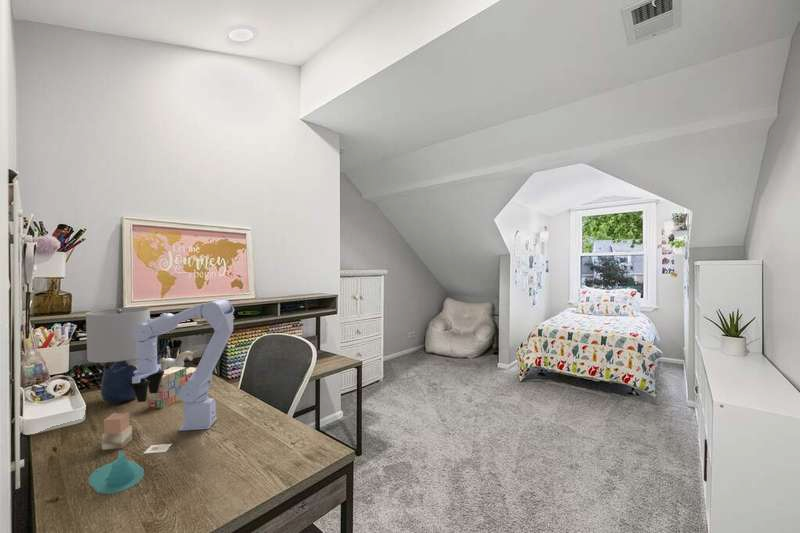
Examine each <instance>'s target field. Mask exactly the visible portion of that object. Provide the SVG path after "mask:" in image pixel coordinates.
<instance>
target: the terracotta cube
mask: <svg viewBox="0 0 800 533" xmlns="http://www.w3.org/2000/svg"><path fill="white" fill-rule="evenodd" d="M129 426H130V412H117V413H116V412H114V413H112V414H110V415H109V416H107V417H106V418H104V420H103V427H104V428H103V429H104V431H103V432H104V433H103V434H104V435H105V434H120V433H122V432H123V431H125V430H126V429H127V428H128V427H129Z"/></svg>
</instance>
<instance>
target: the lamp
mask: <svg viewBox="0 0 800 533" xmlns="http://www.w3.org/2000/svg"><path fill="white" fill-rule="evenodd" d="M150 314H151V310H150V308H149V307H146V306H145V307H144V306H143V307H141V306H140V307H139V306H138V307H137V306H134V307H133V306H132V307H129V306H127V307H114V308H106V309H97V310H92V311H91V310H90V311H88V312H87V311H86V312H85V327H86V329H85V330H86V332H85V333H86V357H87V359H86V360H87V362H89V363H97V364H98V363H113V365H112V366H110V367H108V368H107V369H106V370H105V371H104V373H103V374H102V378H101V383H100V384H101V385H100V393H101V397H102V399H103V401H104V402H106V403H108V404H121V403H127V402H130V401H132V400H133V399H134V398H137V397H136V395H135V392H134V390H133V389H132V388H131V386H130V385H129V382H131V381H132V377H134V376H135V374H134V371H136V370H137V366H135V365H133V364H129V362H128V361H129V360H134V359H137V347H136V340H135V339H134V338H133V336H132V330H133V328H134V327H135V326H137V325H138V324H143V323H146V322H148V321H147V320H149V319H151V315H150Z"/></svg>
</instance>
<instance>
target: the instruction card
mask: <svg viewBox="0 0 800 533" xmlns="http://www.w3.org/2000/svg"><path fill="white" fill-rule="evenodd" d="M172 444H173V443H167V444H165V443H163V444H153V445H152V444H151V445H150V446H149V447H148V448H147V449H146V450H145V451H144V452H143V453H142V454H143V455H144V454H145V455H146V454H156V453H157V454H160V453H161V454H162V453H166V452H167V451H168V450H169V449H170V448H171V447H172V446H171V445H172ZM170 446H171V447H170ZM169 447H170V448H169Z"/></svg>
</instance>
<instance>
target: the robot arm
mask: <svg viewBox="0 0 800 533" xmlns="http://www.w3.org/2000/svg"><path fill="white" fill-rule="evenodd" d="M234 313H235V308H234V306H233V304H232V303H231V301H230V300H228V299H226V298H220V299H218V300H212V301H207V302H204V303H199V304H195V305H194V306H191V307H188V308H187V309H185V310H182V311H180V312H178V313H176V314H173V313H170V312H167V313H166V312H163V313H161V314H160V316H158V317H156V318H150V319H149V320H147V321H148V322H146V323H143V324H138V325H137V326H135V327H134V328H133V330H132V336H133V338H134V339H135V340H136V347H137V358H136V368H137V370H136V371H134V374H135V376H134V377H132V381H131V382H129V385H130V386H131V388H132V389H133V390H134V392H135V395H136V397H135V398H136V400H137V402H138V403H144V402H146V401H147V398H148V397H147V396H148V392H149V391H150V393H157V392H158V389H159V384H160V381H161V378H162V376H163V374H164V371H161V364H160V363H159V364H158V345H157V344H158V343H157V342H158V337H159V336H161V335H163V334H166V333H167V332H170V331H172V330H175V329H176V328H178V326H179V324H180V323H183V322H185V321H187V320H190V319H194V318H196V317H198V318H199V319H202V318H203V319H205V321H206V322H207V323H208V324H209V325H210V326H211V328H213V330H214V332H213V334H212V336H211V338H210V340H209V342H208V344H207V347H206V348H205V350H204V352H203V354H202V357H201V358H200V361H199V362H198V364H197V366H196V367H195V368H196V370H195V372H194V374H193V375H192V376H191V377H190V378H189V379H188V381H187V383H186V384H185V385H184V386H182V387H181V389H180V390H179V397H180V399H181V400H180V401H182V404H183V425H181V427H180V428H179V429H178V431H180V432H181V431H196V430H198V431H199V430H209V429H210V428H211V427H212V425H214V423H215V422H216V420H217V419H218V418H217V401H216V399H215V398H211V397H209V396H208V392H209V391H210V389H211V387H212V380H213V375H212V374H213V371H214V370H215V368H216V365H217V364H218V362H219V360H220V359H221V356H222V354H223V352H224V349H225V348H226V345H227V344H228V342H229V340H230V338H231V336H232V333H233V332H234Z"/></svg>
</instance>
